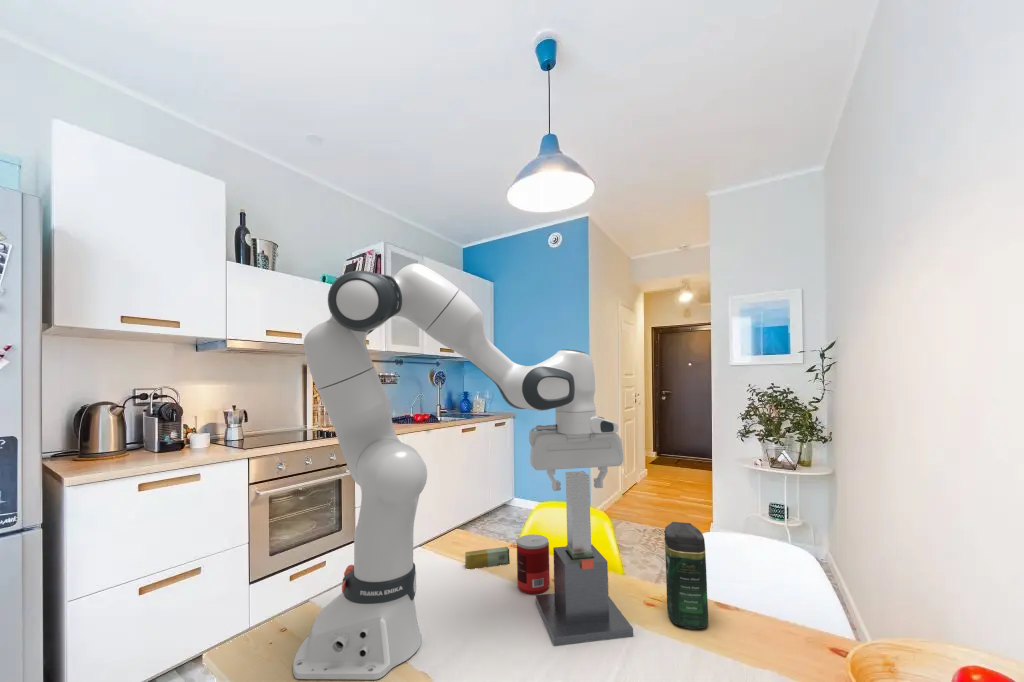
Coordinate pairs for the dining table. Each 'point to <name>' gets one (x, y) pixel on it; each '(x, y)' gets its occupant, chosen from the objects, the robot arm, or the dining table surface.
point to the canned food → (533, 564)
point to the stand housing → (581, 602)
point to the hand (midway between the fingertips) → (577, 488)
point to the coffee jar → (686, 575)
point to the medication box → (487, 558)
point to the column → (578, 515)
